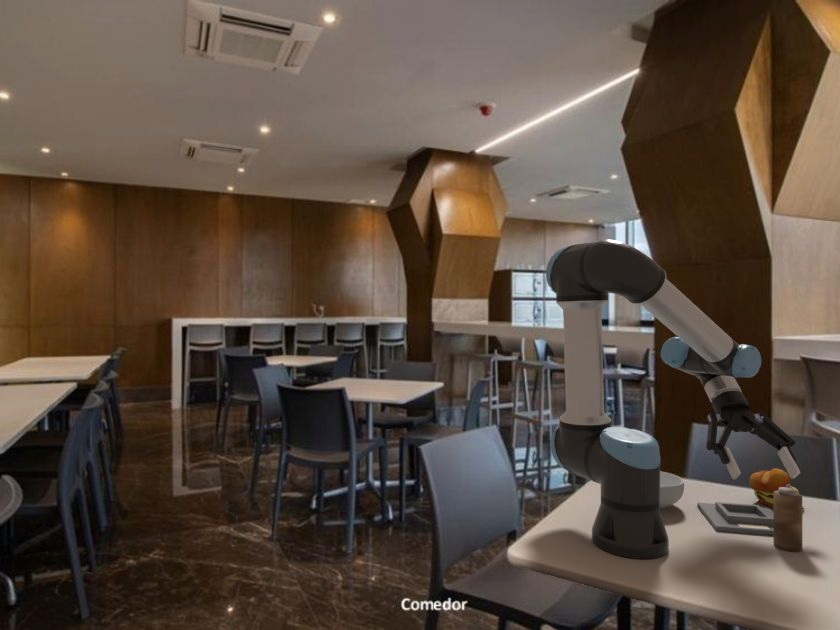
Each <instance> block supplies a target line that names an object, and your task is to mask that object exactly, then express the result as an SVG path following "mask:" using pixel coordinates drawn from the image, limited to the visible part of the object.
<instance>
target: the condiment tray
mask: <svg viewBox="0 0 840 630" xmlns="http://www.w3.org/2000/svg"><path fill="white" fill-rule="evenodd" d="M697 508H698V509H699V511H700V512H701V513H702V515H703V516H704V517H705V518H706V519H707V521H708V522H709V523H710V525H711V526H712V528H714V530H715V531H716V532H726V533H739V534H748V535H749V534H752V535H763V536H773V537H774V511H773V510H771V509H770V507H763V506H760V505H758V504H750V503H749V504H748V503H747V504H746V503H734V502H721V501H720V502H719V501H715V503H709V502H708V503H706V502H697Z"/></svg>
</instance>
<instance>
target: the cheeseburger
mask: <svg viewBox="0 0 840 630" xmlns="http://www.w3.org/2000/svg"><path fill="white" fill-rule="evenodd" d="M791 481H792V478H791V477H790V475H789V473H788V472H787V471H784V469H781V468H776V467H775V468H771V469H768V470H767V469H766V470H760V471H758V472H754V473H752V474H751V475H750V478H749V487H750V488H751V489H752V490H753V491H754V493H753V494H754V496H755V498H756V499H758V502H760V503H762V504H763V505H765V506H768V507H769V508H770V507H771V508H774V491H779V487H788V488H793V489H796V490H797V493H798V494H800V493H799V489H797V488H796V487H795V486H791V484H790V482H791Z"/></svg>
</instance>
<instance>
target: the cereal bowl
mask: <svg viewBox="0 0 840 630" xmlns="http://www.w3.org/2000/svg"><path fill="white" fill-rule="evenodd" d="M684 489H685V481H684V479H683V478H682V477H680V476H678V475H676V474H673V473H670V472H667V471H666V472H665V471H661V470H660V500H659V510H661V509H664V508H665V507H667V506H672V505H673V504H675V503H677V502H679V501H680V500H681V498H682V497H683V494H684V492H685V491H684Z"/></svg>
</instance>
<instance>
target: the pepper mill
mask: <svg viewBox="0 0 840 630" xmlns="http://www.w3.org/2000/svg"><path fill="white" fill-rule="evenodd" d="M796 489H797V488H796ZM796 489H793V488H788V487H779V491H774V507H773V512H774V536H773V546H774V547H775V548H777V549H779V550H782V551H785V552H789V553H801V552H802V551H803V495H801V494H800V493H799V492H798V493H799V494H798V493H797V490H798V489H797V490H796Z"/></svg>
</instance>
